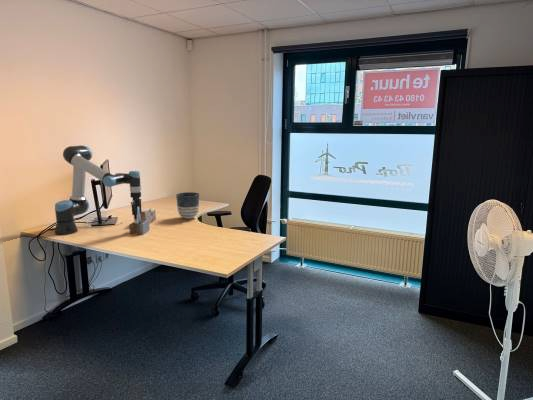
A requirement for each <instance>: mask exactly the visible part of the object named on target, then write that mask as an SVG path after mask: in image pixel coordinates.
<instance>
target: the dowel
mask: <svg viewBox="0 0 533 400" xmlns="http://www.w3.org/2000/svg"><path fill="white" fill-rule="evenodd" d="M137 215H138V223H135V225H140V212H139V207H137Z"/></svg>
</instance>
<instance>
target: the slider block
mask: <svg viewBox="0 0 533 400" xmlns="http://www.w3.org/2000/svg"><path fill="white" fill-rule="evenodd" d="M141 223H143V222H140V224H141ZM128 228H129V229H128V230H129V234H130V235H141V231H140V225H135V223H134V221H133V222H131V223H129V225H128Z"/></svg>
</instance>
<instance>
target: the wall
mask: <svg viewBox="0 0 533 400" xmlns="http://www.w3.org/2000/svg"><path fill="white" fill-rule="evenodd" d="M140 231H141V234H140V235H143V236H144V235H145V234H147V233H148V232H149V231H150V224H149V220H146V221H144V222H143V223H141V224H140Z"/></svg>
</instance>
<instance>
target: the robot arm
mask: <svg viewBox="0 0 533 400" xmlns="http://www.w3.org/2000/svg"><path fill="white" fill-rule="evenodd" d="M62 157H63V159H64V160H65V162H66V163H68V164H69V165H72V166H73V171H72V172H73V173H72V188H71V189H72V190H71V196H69V199H67V200H61V201H58V202H56V203H55V205H54V210H55V221H56V224H55V228H54V234H55V235H58V236H62V235H72V234H76V233H78V232H79V231H78V226H77V225H76V222H75V217H76V216H80V215H83V214H85V213H87V212H88V210H89V208H90V203H89V202H88V199H87V197H86V196H85V191H86V173H88V174H89V175H91V176H93V177H95V178H96V179H98V180H100V181H101V182H102V184H103V185H104V186H105V187H108V188H109V187H111V188H112V187H114V186H119V185H122V184H127V185H128V184H129V191H130V193H129V195H130V198H132V201H131V202H130V205H131V214H132V216H133V222H134V223H138V215H137V207H139V212H140V213H141V210H142V198H141V197H142V192H141V191H142V190H141V189H142V186H141V175H140V171H139V170H129V172H128V173H123V172H119V173H118V172H116V173H115V174H112V173H110V172H109V171H107V170H105V169H103V168H102V167H100V166H99V165H97V164H95V163H93V162H91V161H90V160H92V158H93V152H92V150H91V149H90V147H88V146H86V145H80V144H79V145H73V146H72V145H71V146H67V147H66V148H64V150H63V152H62ZM140 222H141V220H140Z"/></svg>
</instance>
